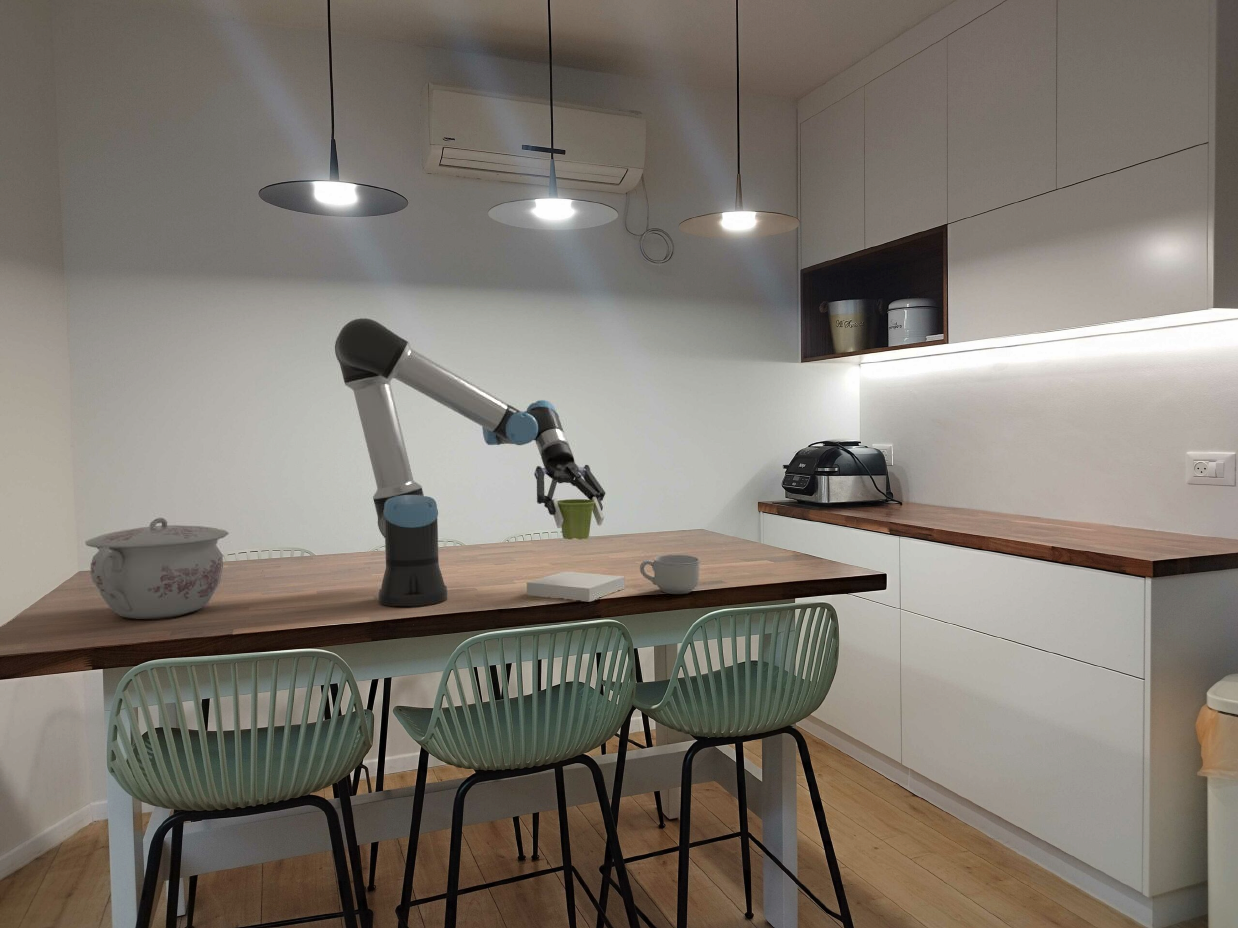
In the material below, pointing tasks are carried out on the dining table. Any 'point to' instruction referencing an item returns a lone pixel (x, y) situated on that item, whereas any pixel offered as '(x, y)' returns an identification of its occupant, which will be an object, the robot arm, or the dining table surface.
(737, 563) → the dining table surface
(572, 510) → the plant pot
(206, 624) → the dining table surface
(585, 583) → the plinth
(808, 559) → the dining table surface
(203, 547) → the chamber pot
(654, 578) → the teacup
